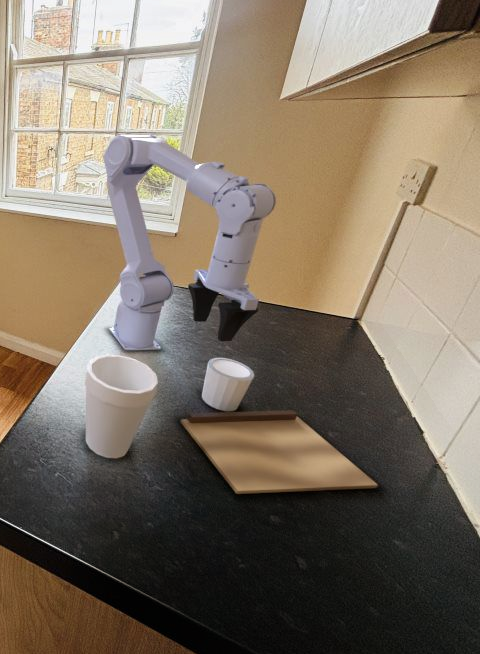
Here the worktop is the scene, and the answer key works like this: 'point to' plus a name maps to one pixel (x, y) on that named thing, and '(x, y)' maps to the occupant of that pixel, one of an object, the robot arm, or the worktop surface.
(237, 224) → the robot arm
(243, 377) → the white faceted cup
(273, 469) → the board
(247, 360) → the worktop surface
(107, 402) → the foam cup
